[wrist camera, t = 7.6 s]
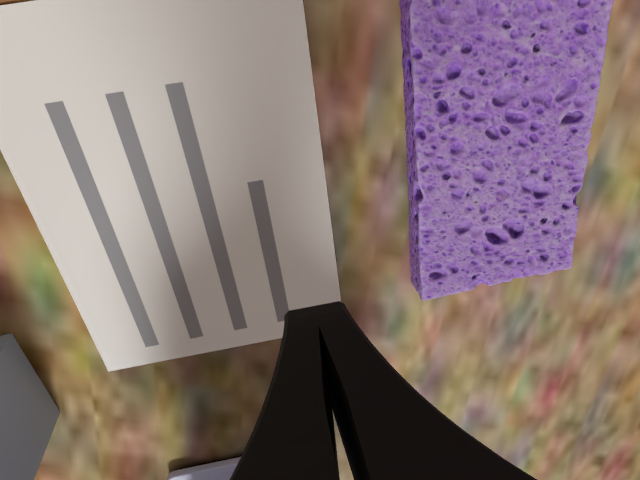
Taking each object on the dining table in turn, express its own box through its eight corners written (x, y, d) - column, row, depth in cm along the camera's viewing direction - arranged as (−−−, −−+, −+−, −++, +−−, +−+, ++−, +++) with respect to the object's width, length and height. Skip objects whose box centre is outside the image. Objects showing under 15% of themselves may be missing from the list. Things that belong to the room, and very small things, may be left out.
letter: (343, 324, 23) (344, 326, 23) (109, 369, 22) (108, 371, 22) (297, -39, 15) (297, -39, 15) (-64, 14, 15) (-66, 14, 15)
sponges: (407, 277, 23) (420, 302, 21) (391, -26, 16) (408, -24, 15) (550, 249, 23) (574, 271, 22) (591, -59, 17) (628, -60, 15)
